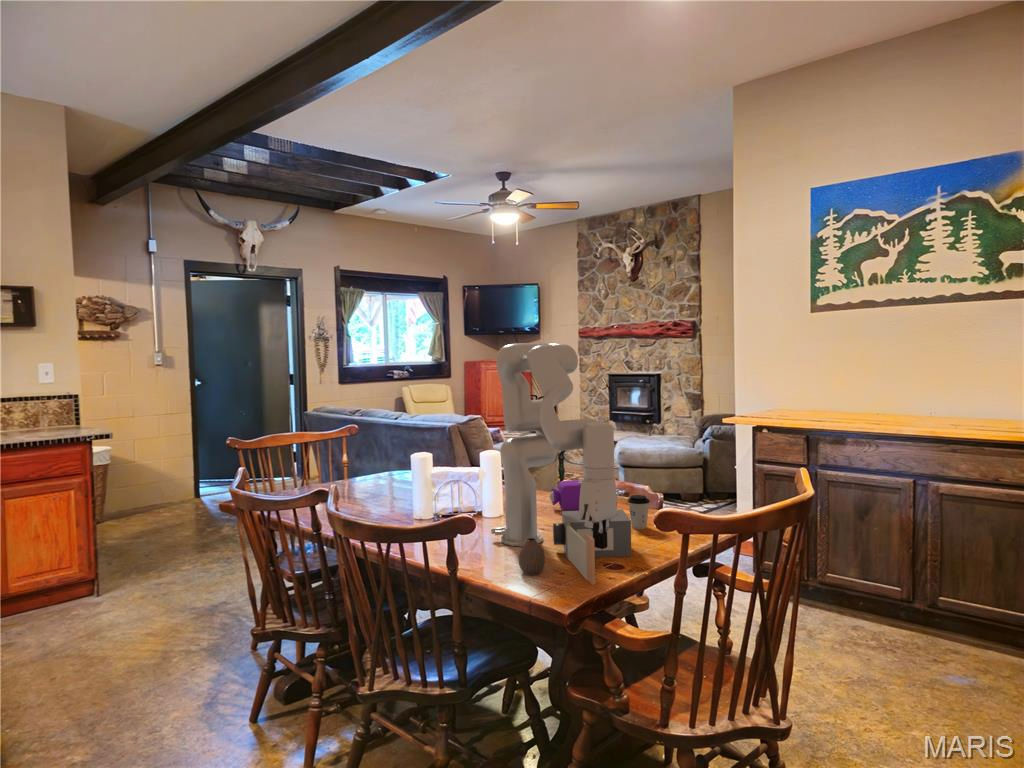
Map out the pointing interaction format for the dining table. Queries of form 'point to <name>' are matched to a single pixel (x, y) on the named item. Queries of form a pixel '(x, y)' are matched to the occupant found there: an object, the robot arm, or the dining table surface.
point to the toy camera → (567, 495)
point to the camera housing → (615, 535)
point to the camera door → (581, 553)
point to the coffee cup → (638, 511)
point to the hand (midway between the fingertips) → (600, 547)
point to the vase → (531, 557)
